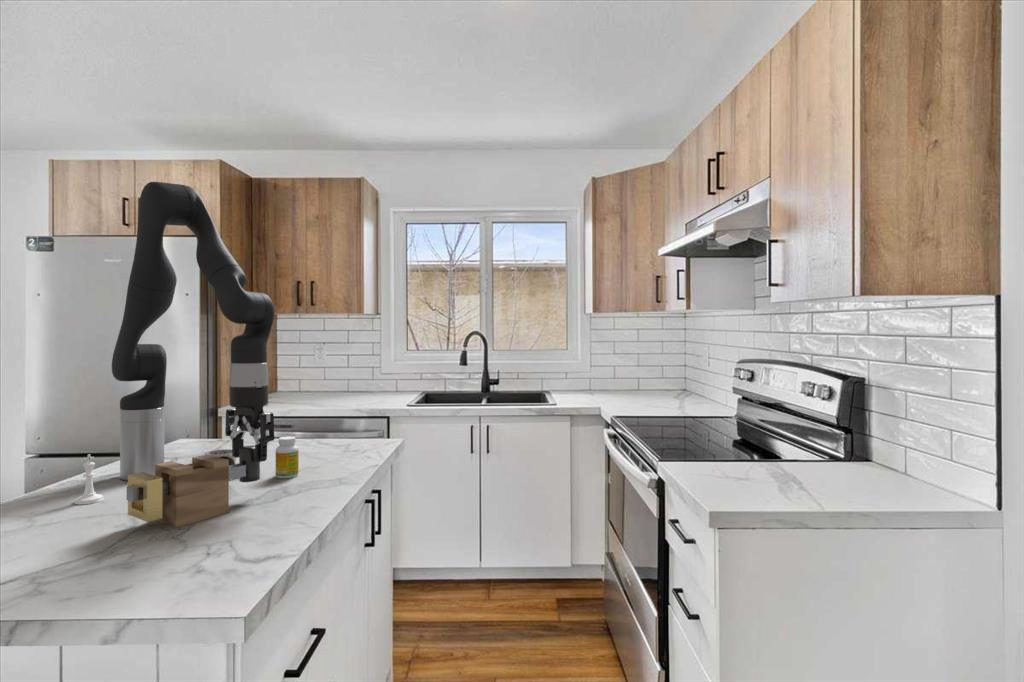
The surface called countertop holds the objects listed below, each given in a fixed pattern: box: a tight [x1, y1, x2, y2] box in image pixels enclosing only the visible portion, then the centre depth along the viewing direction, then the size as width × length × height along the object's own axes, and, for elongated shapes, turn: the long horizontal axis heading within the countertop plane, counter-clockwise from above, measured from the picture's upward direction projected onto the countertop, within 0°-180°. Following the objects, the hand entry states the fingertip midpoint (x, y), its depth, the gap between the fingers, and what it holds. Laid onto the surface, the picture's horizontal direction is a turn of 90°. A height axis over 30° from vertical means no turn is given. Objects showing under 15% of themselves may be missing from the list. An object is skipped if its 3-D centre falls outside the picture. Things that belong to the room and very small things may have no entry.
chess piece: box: [74, 453, 105, 506], centre depth 116 cm, size 5×5×10 cm
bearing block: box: [155, 454, 230, 528], centre depth 107 cm, size 8×10×11 cm
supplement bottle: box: [275, 436, 300, 479], centre depth 138 cm, size 5×5×10 cm
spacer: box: [127, 472, 162, 523], centre depth 100 cm, size 7×2×7 cm, turn 58°
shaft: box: [126, 445, 261, 502], centre depth 108 cm, size 4×25×7 cm, turn 148°
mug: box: [204, 448, 239, 481], centre depth 136 cm, size 10×7×7 cm
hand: (249, 458), depth 117 cm, fingers open, 8 cm apart
